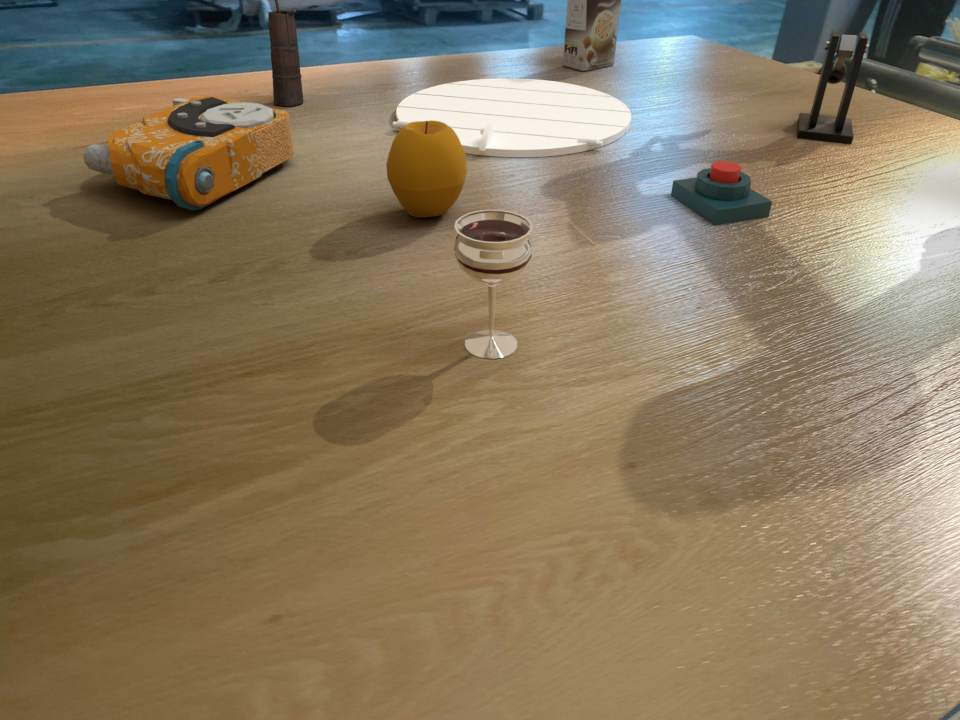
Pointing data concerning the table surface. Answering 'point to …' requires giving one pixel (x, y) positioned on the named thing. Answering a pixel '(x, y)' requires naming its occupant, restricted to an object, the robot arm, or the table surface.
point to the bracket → (839, 125)
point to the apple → (426, 168)
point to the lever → (842, 58)
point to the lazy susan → (520, 116)
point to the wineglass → (492, 266)
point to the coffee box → (591, 33)
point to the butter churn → (285, 58)
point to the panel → (721, 199)
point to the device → (196, 149)
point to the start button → (725, 172)
